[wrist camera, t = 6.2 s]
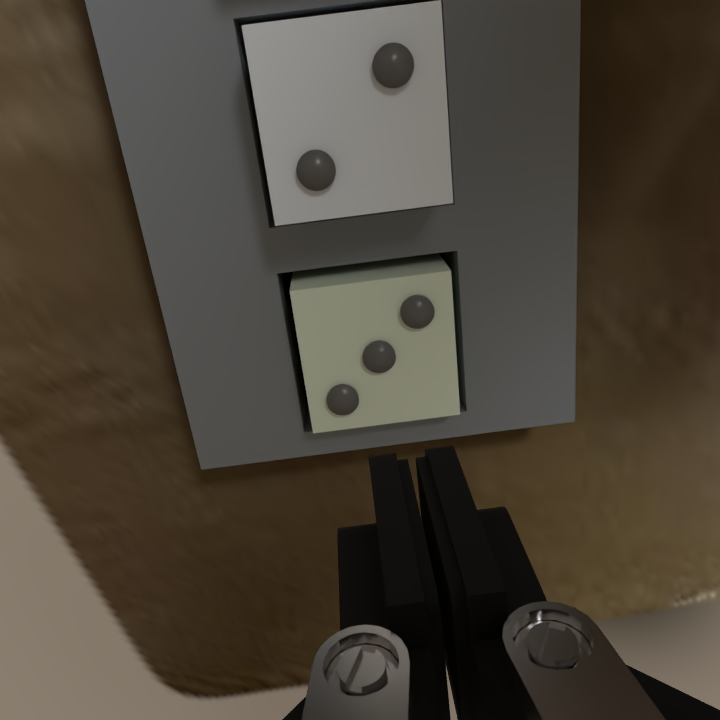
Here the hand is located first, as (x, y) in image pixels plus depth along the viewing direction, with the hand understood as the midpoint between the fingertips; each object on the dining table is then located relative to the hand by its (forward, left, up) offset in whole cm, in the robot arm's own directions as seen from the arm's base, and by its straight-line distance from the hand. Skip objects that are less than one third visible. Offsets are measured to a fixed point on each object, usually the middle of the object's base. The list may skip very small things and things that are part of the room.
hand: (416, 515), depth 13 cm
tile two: (0, -7, -11) cm, 13 cm away
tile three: (0, 0, -12) cm, 13 cm away
